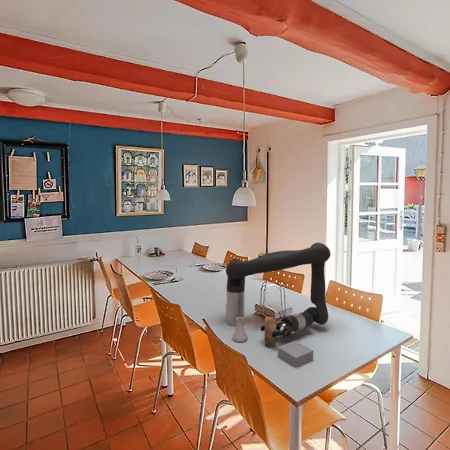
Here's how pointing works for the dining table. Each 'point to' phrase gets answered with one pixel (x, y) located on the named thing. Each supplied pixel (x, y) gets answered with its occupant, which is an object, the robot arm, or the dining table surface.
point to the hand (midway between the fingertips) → (266, 331)
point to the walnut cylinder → (270, 332)
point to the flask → (239, 331)
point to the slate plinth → (295, 353)
